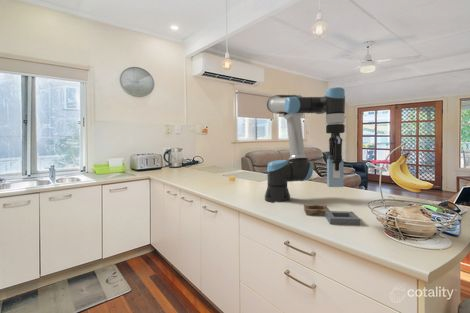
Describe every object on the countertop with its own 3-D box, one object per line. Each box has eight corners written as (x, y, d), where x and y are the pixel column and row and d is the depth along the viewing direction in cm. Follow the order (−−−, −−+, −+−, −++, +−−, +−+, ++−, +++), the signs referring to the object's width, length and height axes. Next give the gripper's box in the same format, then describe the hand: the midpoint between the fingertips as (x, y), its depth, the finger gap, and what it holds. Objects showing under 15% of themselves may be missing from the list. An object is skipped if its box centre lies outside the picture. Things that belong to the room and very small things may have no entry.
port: (330, 225, 103) (330, 217, 103) (325, 217, 113) (325, 210, 113) (360, 226, 101) (360, 218, 101) (352, 217, 111) (352, 210, 111)
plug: (328, 187, 107) (328, 156, 106) (327, 185, 111) (327, 155, 110) (343, 187, 106) (343, 155, 105) (340, 185, 110) (341, 155, 109)
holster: (306, 216, 115) (306, 210, 115) (304, 210, 123) (304, 204, 123) (329, 216, 114) (329, 210, 113) (325, 211, 122) (325, 205, 122)
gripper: (350, 122, 97) (350, 180, 99) (339, 124, 114) (339, 174, 116) (330, 123, 99) (330, 180, 100) (322, 125, 115) (322, 174, 117)
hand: (335, 177), depth 108 cm, fingers closed on plug, 4 cm apart
